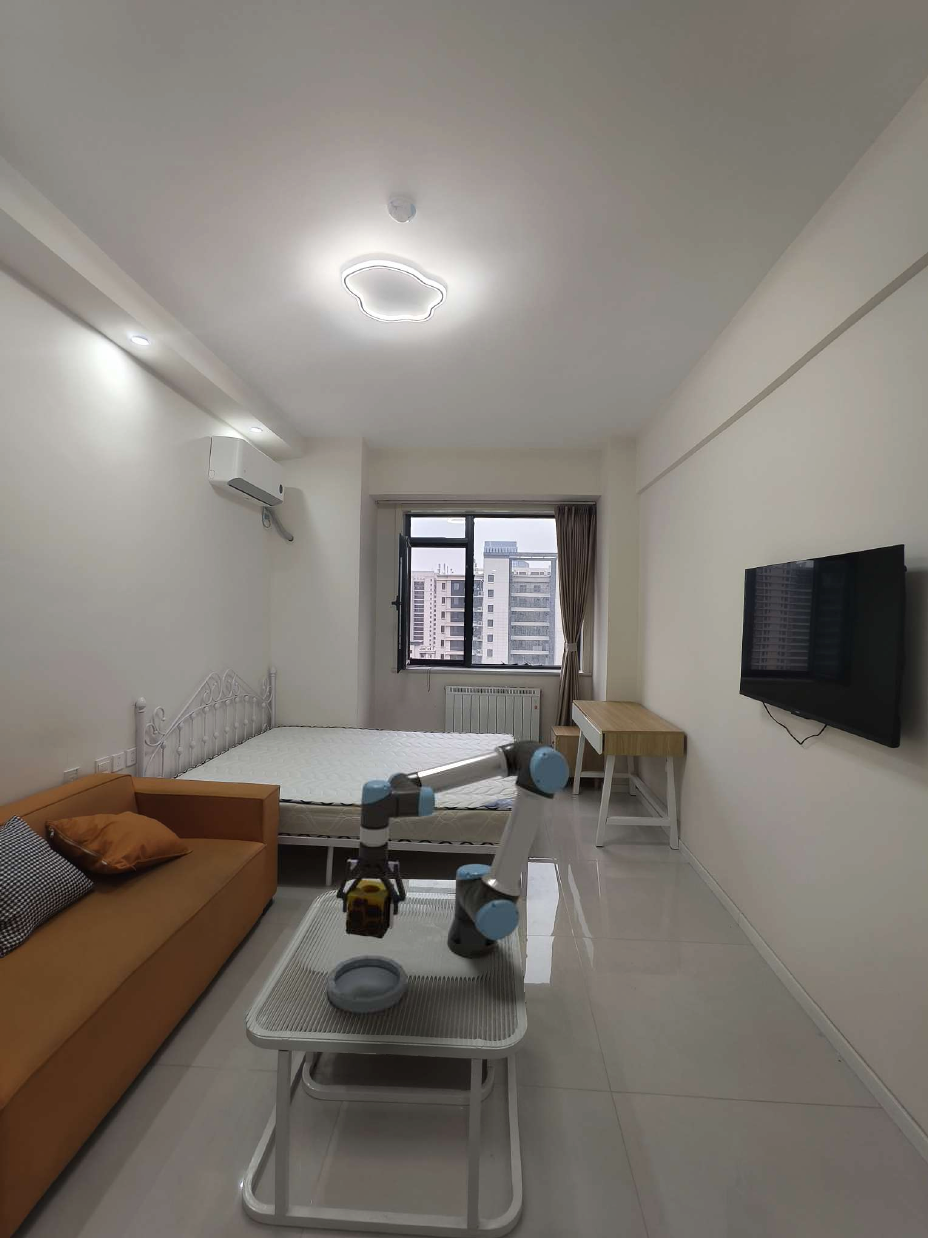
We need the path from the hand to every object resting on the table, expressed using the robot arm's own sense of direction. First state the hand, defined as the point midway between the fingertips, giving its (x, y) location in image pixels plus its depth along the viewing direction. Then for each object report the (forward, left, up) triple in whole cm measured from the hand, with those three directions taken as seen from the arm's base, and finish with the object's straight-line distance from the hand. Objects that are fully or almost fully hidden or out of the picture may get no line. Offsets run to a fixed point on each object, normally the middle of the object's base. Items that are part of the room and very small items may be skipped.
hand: (369, 925), depth 154 cm
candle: (0, 0, -1) cm, 1 cm away
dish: (0, 0, -16) cm, 16 cm away
